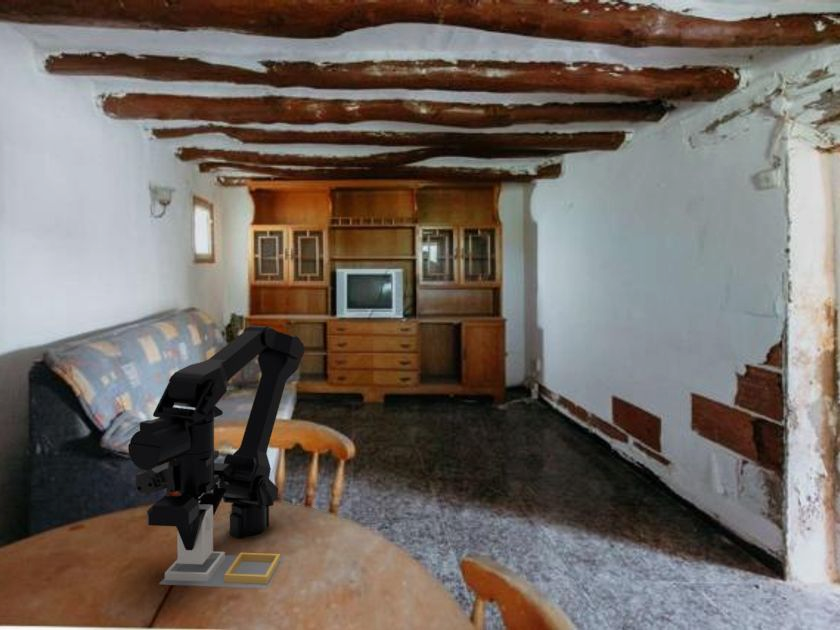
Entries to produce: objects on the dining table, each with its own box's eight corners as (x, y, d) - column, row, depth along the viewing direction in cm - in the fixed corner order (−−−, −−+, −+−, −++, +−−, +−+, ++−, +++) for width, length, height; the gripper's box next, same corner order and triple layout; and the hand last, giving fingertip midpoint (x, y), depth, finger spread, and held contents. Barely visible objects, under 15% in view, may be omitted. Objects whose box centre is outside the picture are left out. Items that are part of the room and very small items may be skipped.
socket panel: (158, 587, 82) (158, 576, 81) (186, 557, 91) (186, 546, 90) (267, 592, 81) (267, 581, 81) (284, 560, 90) (284, 550, 90)
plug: (177, 563, 84) (177, 514, 83) (189, 550, 88) (188, 503, 87) (206, 564, 84) (205, 515, 83) (216, 551, 88) (216, 504, 87)
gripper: (174, 430, 94) (175, 515, 95) (109, 468, 75) (111, 573, 76) (236, 432, 94) (236, 517, 95) (186, 470, 75) (187, 576, 76)
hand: (195, 542), depth 86 cm, fingers closed on plug, 4 cm apart
